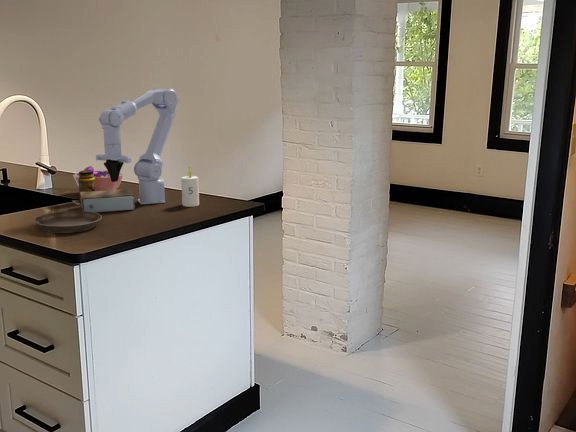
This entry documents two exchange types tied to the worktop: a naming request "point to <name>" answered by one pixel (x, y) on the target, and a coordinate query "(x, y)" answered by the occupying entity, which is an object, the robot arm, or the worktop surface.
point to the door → (108, 204)
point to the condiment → (85, 183)
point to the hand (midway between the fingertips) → (114, 181)
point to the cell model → (102, 180)
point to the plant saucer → (68, 221)
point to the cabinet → (105, 195)
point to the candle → (190, 190)
